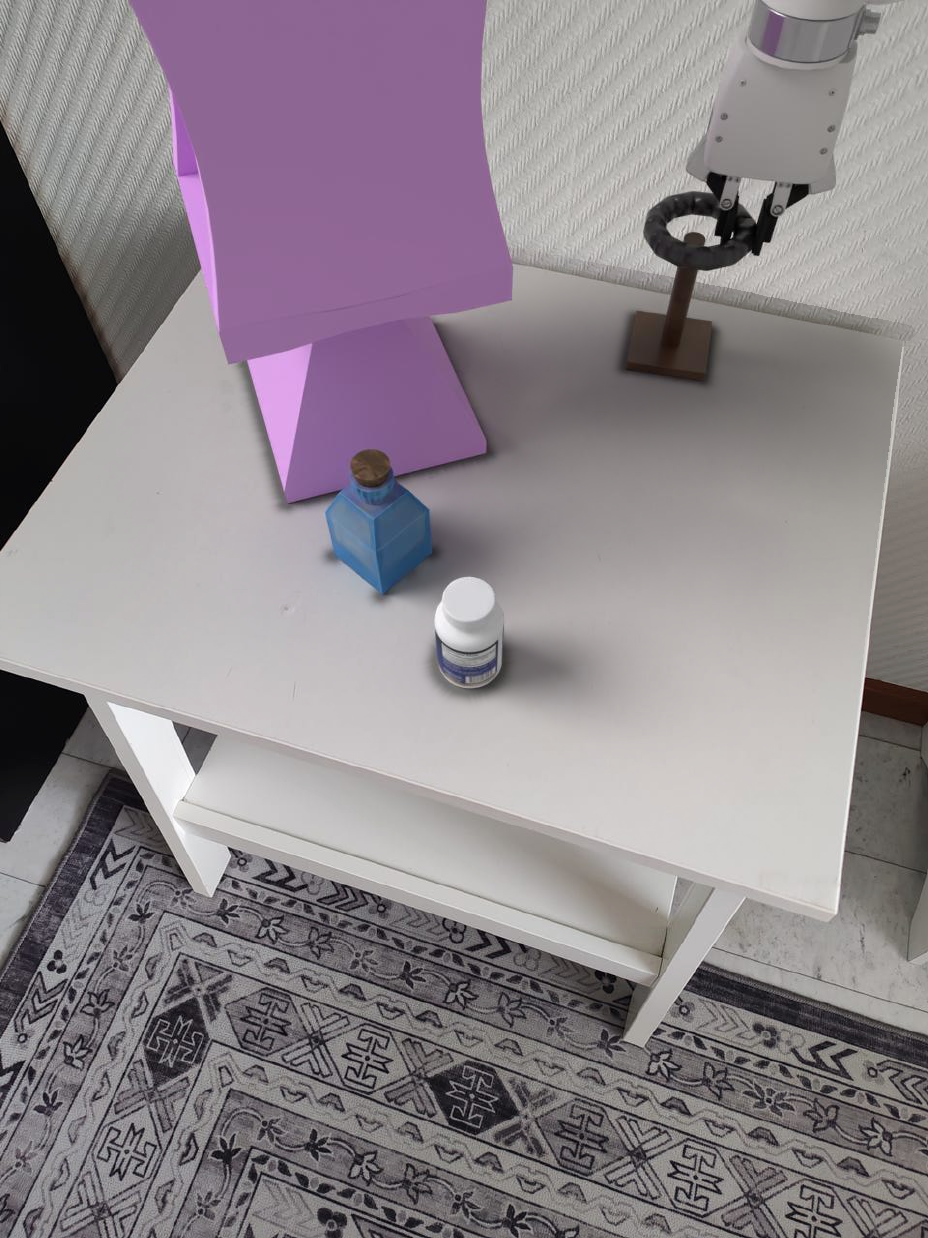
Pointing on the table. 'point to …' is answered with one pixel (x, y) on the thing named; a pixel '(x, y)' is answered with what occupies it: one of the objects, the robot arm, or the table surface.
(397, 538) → the perfume bottle
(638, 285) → the table surface
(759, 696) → the table surface
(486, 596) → the pill bottle
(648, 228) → the ring
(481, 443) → the purple table lamp
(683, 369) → the stand
